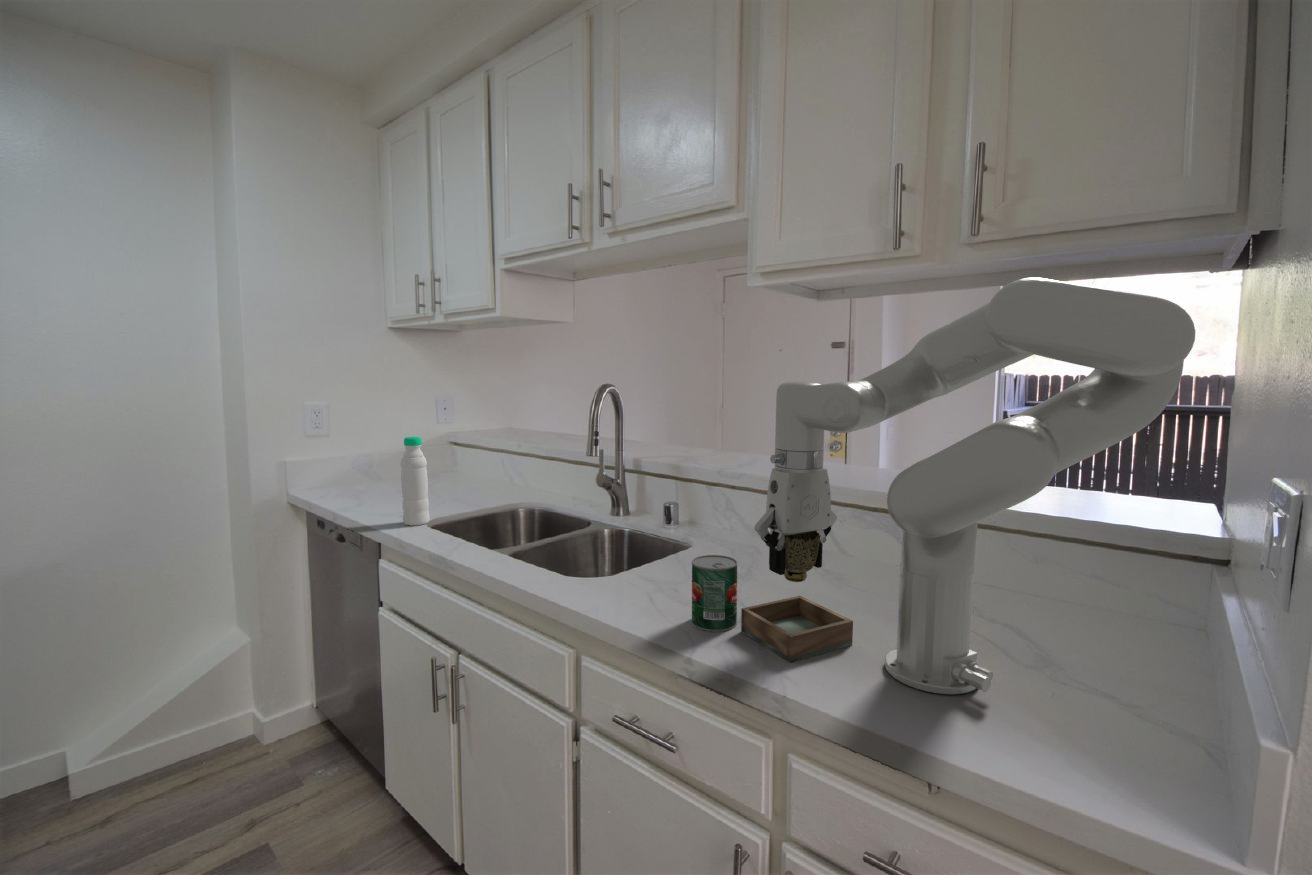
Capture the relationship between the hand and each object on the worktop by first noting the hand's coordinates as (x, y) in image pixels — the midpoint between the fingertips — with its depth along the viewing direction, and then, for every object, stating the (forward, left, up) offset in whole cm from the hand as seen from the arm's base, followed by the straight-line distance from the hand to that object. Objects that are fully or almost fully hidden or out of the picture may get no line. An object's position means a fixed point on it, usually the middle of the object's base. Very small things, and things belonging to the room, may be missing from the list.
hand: (795, 567), depth 100 cm
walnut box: (0, 0, -12) cm, 12 cm away
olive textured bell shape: (0, 0, -2) cm, 2 cm away
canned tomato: (+11, +8, -12) cm, 18 cm away
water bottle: (+111, +45, -12) cm, 121 cm away
